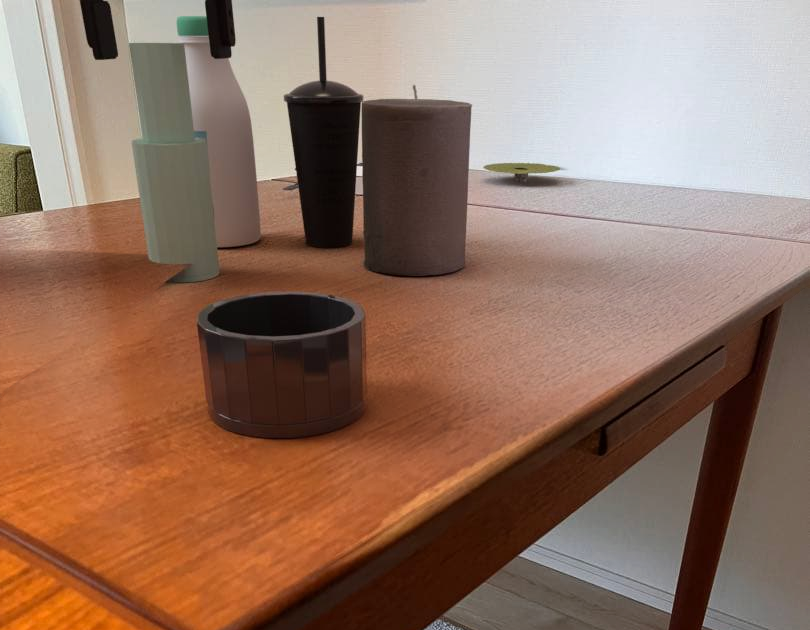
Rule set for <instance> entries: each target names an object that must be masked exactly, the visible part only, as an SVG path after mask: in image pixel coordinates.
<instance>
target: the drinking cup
mask: <svg viewBox="0 0 810 630" xmlns="http://www.w3.org/2000/svg"><path fill="white" fill-rule="evenodd" d="M316 25H317V50H318V51H317V52H318V53H317V54H318V75H319V78H318V79H319V80H313V81H309V82H306V83H302V84H301V85H298V86H297V87H295V88H293V89H292V90H291V91H290V92H289V93H286V94H283V102H285V103H286V106H287V114H288V122H289V129H290V135H291V143H292V151H293V159H294V165H295V166H294V167H295V168H296V170H295V173H296V180H297V183H298V188H297V189H298V194H299V196H298V197H299V202H300V203H299V204H300V211H301V216H302V217H301V218H302V224H303V231H304V240H305V245H307V246H310V247H313V248H323V249H325V248H327V249H328V248H329V249H330V248H331V249H332V248H334V249H335V248H342V247H347V246H350V245H352V244H353V235H354V219H355V203H356V195H355V189H356V173H357V164H358V158H359V157H358V153H359V139H360V138H359V137H360V122H361V109H362V102H364V101H365V100H364V99H365V97H364V96H365V95H363V94H361V93H358V92H357V91H355V90H354V89H353V88H351V87H350V86H348V85H346V84H344V83H340V82H336V81H333V80H327V79H328V78H327V53H326V51H327V50H326V23H325V16H316Z"/></svg>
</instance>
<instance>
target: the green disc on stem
mask: <svg viewBox="0 0 810 630" xmlns="http://www.w3.org/2000/svg"><path fill="white" fill-rule="evenodd" d="M482 168H483V169H485V170H486V171H489V172H495V173H503V174H513V175H514V176H513V178H515V181H518V182H519V183H521V182H522V181H525V182H528V179H529V174H548V173H554V172H557V171H561V167H559V166H556V165H550V164H546V163H545V164H544V163H534V162H533V163H532V162H531V163H530V162H526V163H525V162H503V163H502V162H499V163H491V164H485V165H484V166H483V167H482Z"/></svg>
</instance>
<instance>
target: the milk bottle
mask: <svg viewBox="0 0 810 630" xmlns="http://www.w3.org/2000/svg"><path fill="white" fill-rule="evenodd" d="M175 23H176V31H177V36H178V43H184V46H185V55H186V64H187V73H188V82H189V91H190V100H191V108H192V117H193V126H194V135H195V137H196V138H202V139H205V140H206V148H207V158H208V167H209V176H210V186H211V195H212V204H213V214H214V223H215V233H216V242H217V248H232V247H242V246H247V245H251V244H254V243H258V242H259V240H260V238H261V236H262V231H261V229H262V227H261V216H260V215H261V214H260V203H259V191H258V189H259V188H258V179H257V178H258V177H257V167H256V156H255V144H254V143H255V142H254V133H253V127H252V119H251V114H250V109H249V106H248V103H247V99H246V97H245V95H244V92H243V90H242V88H241V86H240V83H239V82H238V79H237V77H236V75H235V73H234V70H233V68H232V65H231V62H230V58H224V59H214V57H212V56H211V52H210V44H209V35H208V26H207V18H206V15H187V16H186V15H183V16H182V15H181V16H178V17H177V18H176V22H175Z"/></svg>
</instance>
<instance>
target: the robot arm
mask: <svg viewBox="0 0 810 630" xmlns="http://www.w3.org/2000/svg"><path fill="white" fill-rule="evenodd" d="M79 6H80V11H81V17H82V22H83V27H84V32H85V39H86V43H87V45H88V47H89V48H90V49H91V50H92V56H93V58H94V60H95V61H106V60H116V59H117V58H118V57H119V50H118V45H117V39H116V32H115V27H114V20H113V15H112V14H113V13H112V8H111V4H110V3H109V0H79ZM204 8H205V16H206V18H207V26H208V35H209V36H208V37H209V44H210V52H211V56H212V57H214V59H224V58H229V59H231V58H232V55H233V54H232V53H233V51H232V47H235V46H236V41H237V39H236V29H235V20H234V11H233V0H204Z"/></svg>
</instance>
